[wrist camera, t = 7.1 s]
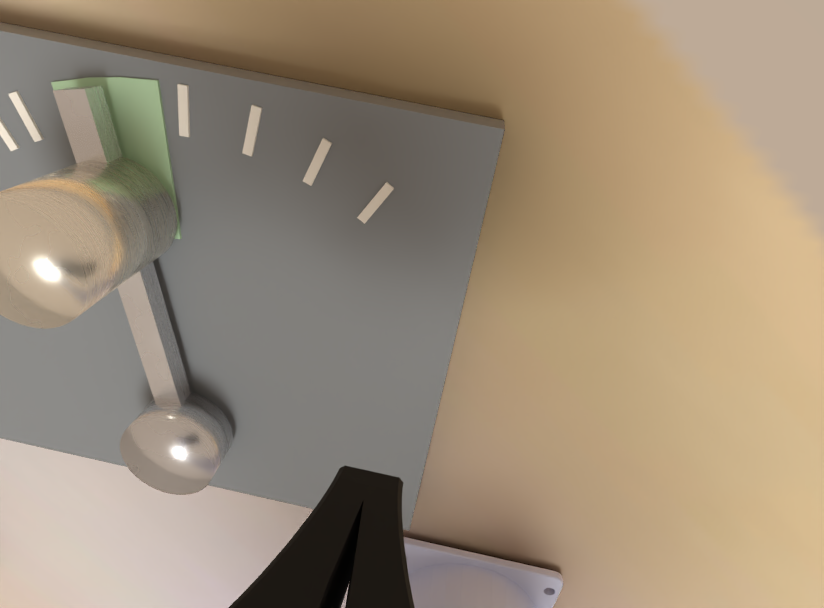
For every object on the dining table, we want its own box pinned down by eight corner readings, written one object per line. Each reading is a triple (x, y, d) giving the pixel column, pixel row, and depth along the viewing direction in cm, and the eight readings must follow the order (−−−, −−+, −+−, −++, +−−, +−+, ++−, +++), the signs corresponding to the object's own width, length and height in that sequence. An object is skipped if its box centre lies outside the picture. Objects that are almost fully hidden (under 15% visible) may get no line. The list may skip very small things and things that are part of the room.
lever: (240, 463, 23) (186, 560, 19) (159, 459, 24) (89, 552, 19) (143, 83, 16) (26, 108, 12) (31, 88, 17) (-115, 114, 13)
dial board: (413, 503, 25) (408, 532, 24) (14, 414, 26) (-13, 437, 25) (503, 120, 17) (504, 130, 16) (-79, 6, 18) (-127, 6, 17)
